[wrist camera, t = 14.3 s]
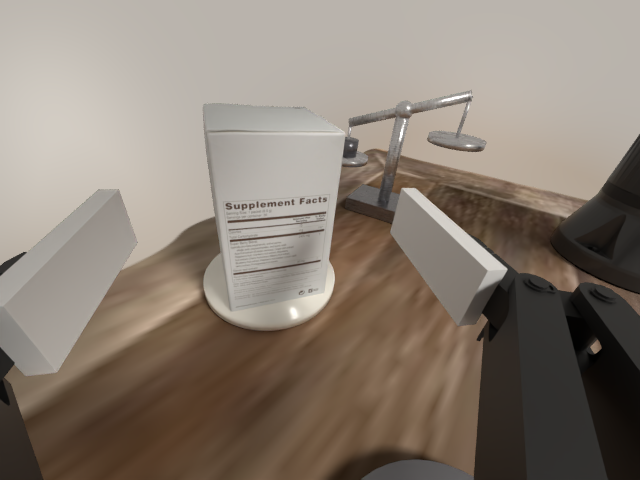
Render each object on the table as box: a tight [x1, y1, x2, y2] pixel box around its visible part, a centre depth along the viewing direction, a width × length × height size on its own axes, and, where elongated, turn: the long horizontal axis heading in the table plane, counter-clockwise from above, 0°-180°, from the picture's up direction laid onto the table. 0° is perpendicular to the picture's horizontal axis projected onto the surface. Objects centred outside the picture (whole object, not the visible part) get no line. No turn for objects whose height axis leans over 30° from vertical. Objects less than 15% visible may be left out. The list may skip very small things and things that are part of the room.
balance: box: [341, 91, 486, 223], centre depth 40 cm, size 22×7×18 cm, turn 61°
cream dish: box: [203, 253, 335, 331], centre depth 29 cm, size 13×13×1 cm
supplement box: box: [203, 103, 345, 312], centre depth 24 cm, size 9×9×15 cm
